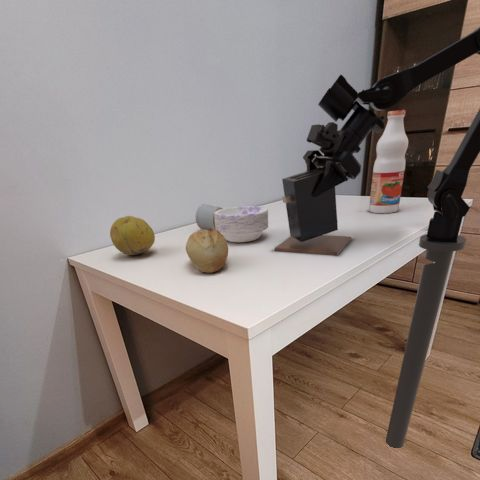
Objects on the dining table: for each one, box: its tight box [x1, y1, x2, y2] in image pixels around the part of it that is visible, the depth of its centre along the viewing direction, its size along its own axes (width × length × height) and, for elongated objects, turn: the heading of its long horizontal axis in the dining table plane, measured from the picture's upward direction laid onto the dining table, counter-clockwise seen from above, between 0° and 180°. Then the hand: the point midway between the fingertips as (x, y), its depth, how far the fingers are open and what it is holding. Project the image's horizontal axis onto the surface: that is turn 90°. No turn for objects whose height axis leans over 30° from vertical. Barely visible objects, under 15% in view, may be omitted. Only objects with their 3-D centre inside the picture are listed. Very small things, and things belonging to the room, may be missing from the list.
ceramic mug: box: [195, 203, 224, 231], centre depth 110 cm, size 11×8×8 cm
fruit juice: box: [368, 109, 409, 214], centre depth 108 cm, size 9×9×28 cm
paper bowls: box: [214, 205, 269, 243], centre depth 97 cm, size 15×15×8 cm
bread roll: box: [185, 228, 229, 274], centre depth 79 cm, size 10×15×8 cm, turn 17°
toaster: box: [281, 167, 339, 242], centre depth 84 cm, size 12×7×14 cm, turn 106°
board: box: [274, 234, 352, 256], centre depth 88 cm, size 16×14×1 cm
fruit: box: [109, 215, 156, 256], centre depth 91 cm, size 11×12×10 cm
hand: (306, 194), depth 82 cm, fingers closed on toaster, 7 cm apart
